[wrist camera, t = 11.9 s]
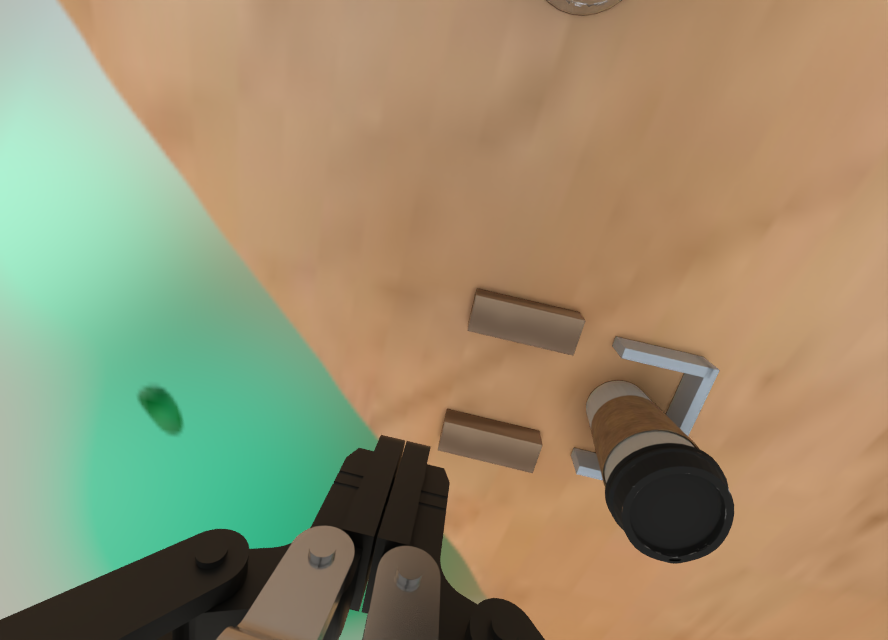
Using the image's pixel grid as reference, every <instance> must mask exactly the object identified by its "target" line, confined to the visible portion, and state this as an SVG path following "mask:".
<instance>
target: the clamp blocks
mask: <svg viewBox="0 0 888 640" xmlns="http://www.w3.org/2000/svg"><path fill="white" fill-rule="evenodd" d="M584 323H585V319H584V318H583V316H582V315H581V314H580V312H576V311H572V310H567V309H563V308H559V307H555V306H550V305H546V304H542V303H537V302H533V301H529V300H524V299H520V298H516V297H512V296H507V295H503V294H499V293H494V292H490V291H486V290H481V289H477V290H476V294H475V298H474V303H473V307H472V311H471V315H470V319H469V323H468V331H471V332H475V333H479V334H483V335H488V336H492V337H496V338H500V339H505V340H509V341H513V342H517V343H522V344H526V345H530V346H534V347H539V348H543V349H547V350H551V351H556V352H560V353H564V354H568V355H574V352H575V350H576V347H577V344H578V341H579V338H580V335H581V332H582V329H583V326H584ZM541 448H542V441H541V436H540V431H537V430H533V429H529V428H525V427H521V426H516V425H512V424H508V423H504V422H500V421H496V420H491V419H487V418H483V417H479V416H475V415H471V414H466V413H462V412H458V411H454V410H450V409H447V412H446V416H445V420H444V424H443V428H442V432H441V436H440V441H439V447H438V450H439V451H443V452H447V453H451V454H455V455H459V456H464V457H468V458H472V459H476V460H480V461H484V462H488V463H492V464H497V465H501V466H505V467H509V468H513V469H517V470H521V471H525V472H530V473H533V471H534V468H535V465H536V462H537V459H538V456H539V454H540V451H541Z"/></svg>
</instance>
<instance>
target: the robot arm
mask: <svg viewBox="0 0 888 640" xmlns="http://www.w3.org/2000/svg"><path fill="white" fill-rule="evenodd" d="M547 1H548V2H549V3H550V4H552V5H553V6H555V7H556V8H558V9H559V10H562V11H565V12H567V13H570V14H577V15H588V14H595V13H599V12H601V11H604V10H607V9H609V8H611V7H613V6H614V5H616V4H617V3H619V2H620V1H622V0H547ZM404 444H405V440H401V439H396V438H392V437H388V436H384V435H381V436H380V438H379V441H378V443H377V446H376V448H375V450H374V451H370V450H366V449H362V448H358V449H357V450H356V451H354V452H353V453H352V454H350V455H349V456H348V457H346V459H345V461H344V463H343V465H342V467H341V469H340V471H339V473H338V475H337V477H336V479H335V481H334V484H333V485H332V487H331V489H330V491H329V493H328V495H327V496H326V498H325V500H324V503H323V504H322V507H321V508H320V510H319V512H318V514H317V516H316V518H315V520H314V522H313V524H312V526H311V527H310V529H307V530H305V531H304V532H302V533H301V534H300V535H298V536H297V537H296V538H295V540H294V541H293V542H292V543H290V544H288V545H285V546H281V547H274V548H258V549H249V545H248V543H247V540H246V539H245V538H244V537H243V536H242V535H241V534H240V533H237V532H236V531H233V530H228V529H214V530H209V531H205V532H202V533H200V534H197V535H195V536H193V537H191V538H188V539H186V540H183V541H181V542H179V543H177V544H174V545H172V546H170V547H167V548H165V549H163V550H160V551H158V552H156V553H154V554H151V555H149V556H147V557H144V558H142V559H140V560H138V561H135V562H133V563H131V564H128V565H126V566H124V567H121V568H119V569H117V570H114V571H112V572H110V573H108V574H105V575H103V576H100V577H98V578H96V579H94V580H91V581H89V582H87V583H84V584H82V585H80V586H77V587H75V588H73V589H70V590H68V591H66V592H64V593H61V594H59V595H57V596H54V597H52V598H50V599H47V600H45V601H43V602H41V603H38V604H36V605H34V606H31V607H29V608H27V609H24V610H22V611H20V612H18V613H15V614H13V615H11V616H8V617H6V618H4V619H1V620H0V640H338V639H339V637H340V635H341V633H342V630H343V628H344V625H345V621H346V618H347V615H348V612H349V609H351V610H355V611H359V609H360V606H361V603H362V599H363V596H364V592H365V589H366V586H367V589H366V594H365V599H364V604H363V608H362V612H364V613H368V615H367V620H366V624H365V629H364V634H363V638H362V640H545V639H544V638H543V636H542V635H541V634H540V632H539V631H538V630H537V628H536V627H535V626H534V624H533V623H532V621H531V620H530V619H529V617H528V616H527V615H526V614H525V613H524V612H523V611H522V610H521V609H520V608H519V607H518V606H516V605H515V604H513V603H511V602H509V601H507V600H504V599H499V598H491V599H486V600H484V601H482V602H480V603H479V604H478V605H477V604H476V603H474V602H472V601H471V600H469V599H467V598H466V597H464V596H463V595H461V594H460V593H458V592H457V591H456V590H455V589H454V588H453V587H452V586H451V585H450V584H449V583H448V581H447V580H446V579H445V576H444V574H443V572H442V569H441V564H440V555H441V547H442V539H443V531H444V523H445V515H446V507H447V498H448V491H449V483H450V482H449V480H448V477H447V475H446V472H445V470H444V468H440V467H436V466H432V465H428V464H427V461H428V456H429V451H430V446H426V445H422V444H417V443H413V442H409V441H407V442H406V445H405V448H404ZM403 449H404V452H403ZM402 454H403V455H402ZM367 582H368V584H367Z"/></svg>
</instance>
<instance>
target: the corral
mask: <svg viewBox="0 0 888 640" xmlns="http://www.w3.org/2000/svg"><path fill="white" fill-rule="evenodd" d="M612 346H613V348H614V349H615V350H616V352H617V353H618V354H619V356H620V357H621V358H623V359H627V360H631V361H636V362H640V363H644V364H648V365H653V366H657V367H661V368H665V369H670V370H674V371H678V372H683V373H684V375H683V378H682V380H681V382H680V384H679V386H678V389H677V391H676V393H675V395H674V398H673V400H672V402H671V404H670V406H669V409H668V411H667V413H666V415H667V416H668V417H669V418H670V419H671V420H672V421H673V422H674V423H675V424H676V425H677V426H678V427H679V428H680V429H681V430H682V431H683V432H684V433H685V434H686V435H687V436H688V435H689V433H690V431H691V429H692V427H693V425H694V423H695V421H696V418H697V416H698V414H699V412H700V410H701V408H702V406H703V404H704V402H705V400H706V398H707V396H708V393H709V391H710V389H711V387H712V385H713V383H714V381H715V379H716V377H717V375H718V373H719V371H720V370H719V369H718V368H716V367H715V366H714V365H713V364H711V363H710V362H709V361H708V360H707V359H705V358H704V357H702V356H698V355H693V354H689V353H685V352H681V351H676V350H672V349H668V348H663V347H659V346H655V345H651V344H646V343H642V342H638V341H633V340H629V339H625V338H621V337H615V340H614V342H613V345H612ZM571 458H572V461H573V464H574V467H575V471H576V474H579V475H583V476H587V477H591V478H595V479H599V480H603V479H602V475H601V471H600V466H599V462H598V458H597V454H596V453H593V452H589V451H585V450H581V449H577V448H573V451H572V454H571Z"/></svg>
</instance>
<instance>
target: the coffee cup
mask: <svg viewBox="0 0 888 640" xmlns="http://www.w3.org/2000/svg"><path fill="white" fill-rule="evenodd" d="M586 413H587V417H588V420H589V424H590V427H591V432H592V437H593V441H594V445H595V450H596V454H597V458H598V462H599V466H600V471H601V475H602V479H603V482H604V485H605V498H606V503H607V506H608V509H609V511H610V512H611V514H612V516H613V518H614V519H615V521H616V522H617V524H618V525H619V526H620V527H621V528H622V529H623V530H624V532H625V533H626V535H627V537H628V539H629V541H630V542H631V543H632V544H633V545H634V547H635V548H636V549H638V550H639V551H640V552H642V553H643V554H645V555H647V556H649V557H651V558H654V559H657V560H660V561H664V562H668V563H683V562H688V561H692V560H695V559H699V558H701V557H704V556H706V555H708V554H710V553H711V552H713V551H714V550H716V549H717V548H718V547H719V546H720V545H721V544H722V543H723V541H724V540H725V538H726V537H727V535H728V533H729V531H730V528H731V526H732V522H733V517H734V503H733V499H732V495H731V493H730V491H729V488H728V483H727V479H726V477H725V475H724V473H723V471H722V470H721V468H720V467H719V465H718V464H717V462H716V461H715V460H714V459H713V458H712V457H711V456H709V455H708V454H706V453H705V452H704V451H702V450H700V449H699V448H698V446H697V445H696V444H695V443H694V442H693V441H692V440H691V439H690V438H689V437H688V436H687V435H686V434H685V433H684V432H683V431H682V430H681V429H680V428H679V427H678V426H677V425H676V424H675V423H674V422H673V421H672V420H671V419H670V418H669V417H668V416H667V415H666V414H665V413H664V412H663V411H662V410H661V409H660V408H659V407H657V406H656V405H655V404H654V403H653V402H652V401H651V400H650V399H649V398H648V397H647V396H646V395H645V394H644V393H643V391H642V390H641V389H640V388H638V387H637V386H636V385H634V384H632V383H630V382H626V381H610V382H607V383H604V384H602V385H600V386H599V387H597V388H596V389H595V390H594V391H593V392H592V393H591V395H590V396H589V398H588V400H587V404H586Z"/></svg>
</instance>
